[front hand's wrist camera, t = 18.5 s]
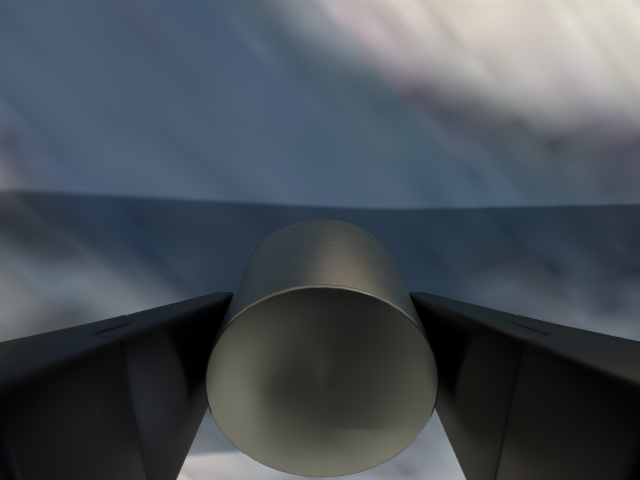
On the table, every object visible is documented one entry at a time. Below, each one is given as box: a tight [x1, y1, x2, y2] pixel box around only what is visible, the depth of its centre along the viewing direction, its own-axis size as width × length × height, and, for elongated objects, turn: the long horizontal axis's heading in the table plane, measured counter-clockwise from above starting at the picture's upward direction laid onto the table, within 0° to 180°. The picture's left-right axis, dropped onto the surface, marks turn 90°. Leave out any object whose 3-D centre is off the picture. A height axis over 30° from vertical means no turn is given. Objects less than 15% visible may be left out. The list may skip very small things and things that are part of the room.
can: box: [204, 219, 440, 477], centre depth 10 cm, size 5×5×4 cm
